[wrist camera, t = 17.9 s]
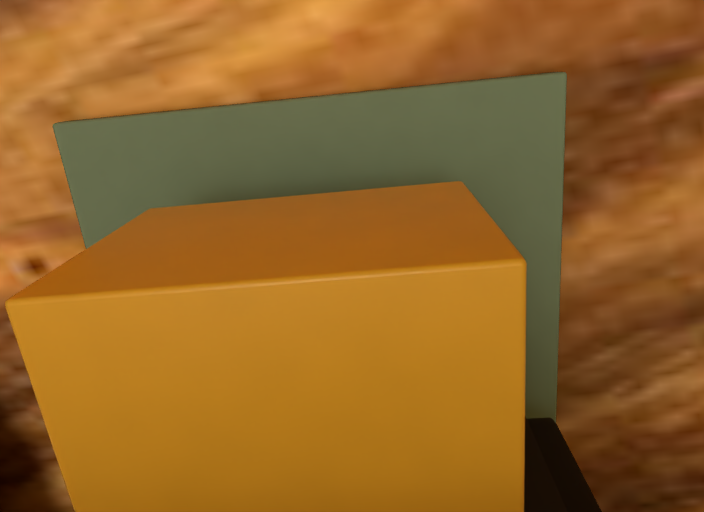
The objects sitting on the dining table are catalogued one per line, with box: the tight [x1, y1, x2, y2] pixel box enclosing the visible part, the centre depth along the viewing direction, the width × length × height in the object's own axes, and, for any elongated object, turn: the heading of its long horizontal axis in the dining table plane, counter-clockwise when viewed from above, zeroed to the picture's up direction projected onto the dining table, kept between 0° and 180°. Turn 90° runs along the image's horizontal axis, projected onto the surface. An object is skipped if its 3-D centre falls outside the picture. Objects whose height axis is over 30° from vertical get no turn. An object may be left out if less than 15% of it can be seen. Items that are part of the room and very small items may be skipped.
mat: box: [53, 72, 567, 423], centre depth 10 cm, size 12×8×1 cm, turn 6°
